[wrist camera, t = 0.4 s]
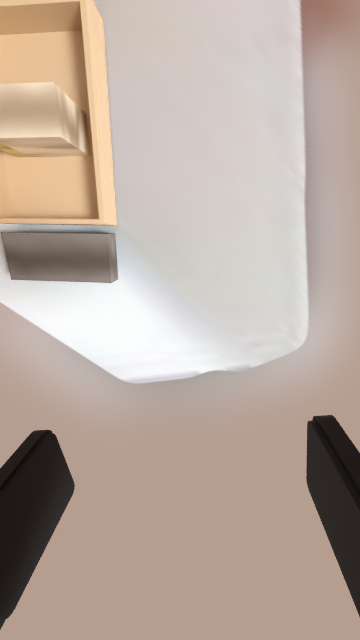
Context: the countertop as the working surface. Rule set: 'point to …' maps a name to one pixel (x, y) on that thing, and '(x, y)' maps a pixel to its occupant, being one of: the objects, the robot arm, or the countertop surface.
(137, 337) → the countertop surface
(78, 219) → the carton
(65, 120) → the block
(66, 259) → the block
